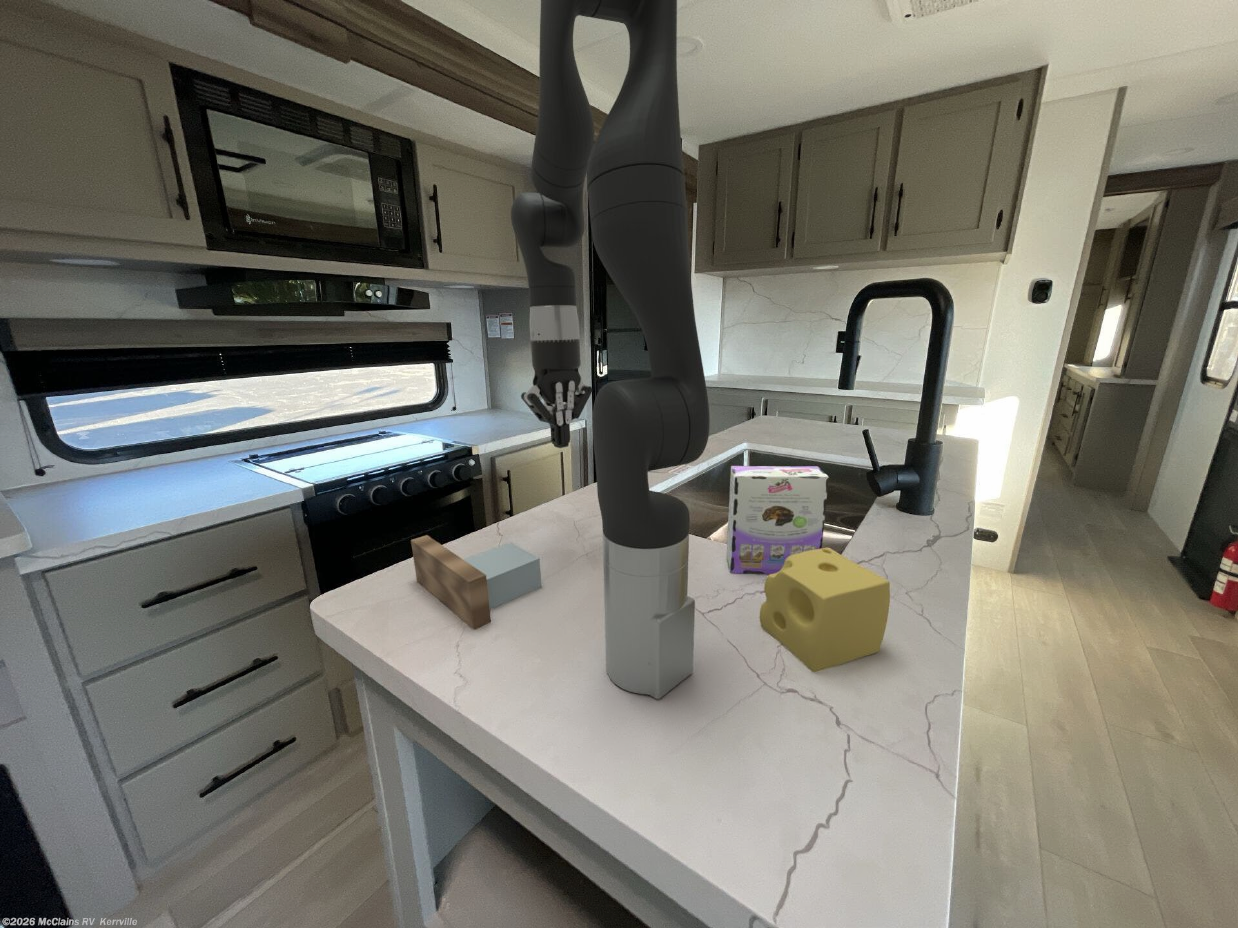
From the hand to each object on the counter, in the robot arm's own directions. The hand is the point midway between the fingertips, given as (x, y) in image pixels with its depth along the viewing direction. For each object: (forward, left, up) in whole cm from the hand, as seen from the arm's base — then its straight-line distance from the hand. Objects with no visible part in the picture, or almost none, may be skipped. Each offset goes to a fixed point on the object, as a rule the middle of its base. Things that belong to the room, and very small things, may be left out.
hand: (561, 446), depth 81 cm
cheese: (-42, -7, -19) cm, 47 cm away
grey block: (-2, +15, -19) cm, 24 cm away
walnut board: (0, +21, -19) cm, 29 cm away
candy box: (-28, -20, -19) cm, 39 cm away
